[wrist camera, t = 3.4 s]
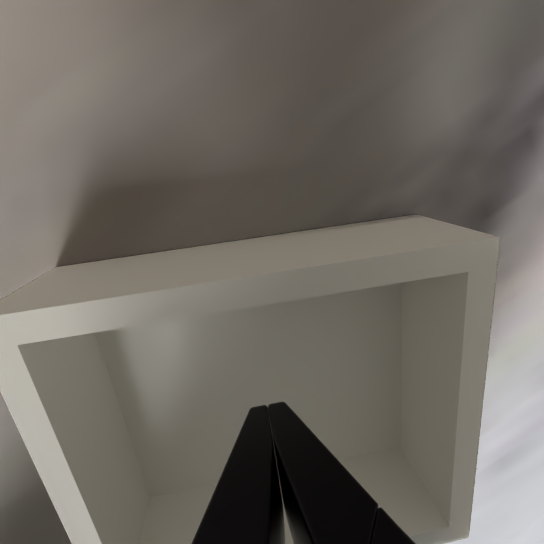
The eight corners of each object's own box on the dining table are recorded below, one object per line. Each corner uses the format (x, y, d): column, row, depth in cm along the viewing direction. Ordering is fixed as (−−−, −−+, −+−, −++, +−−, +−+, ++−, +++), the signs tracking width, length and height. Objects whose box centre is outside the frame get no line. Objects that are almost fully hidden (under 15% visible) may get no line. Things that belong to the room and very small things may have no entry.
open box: (411, 448, 20) (468, 537, 15) (138, 503, 19) (107, 620, 14) (416, 214, 15) (500, 237, 10) (55, 267, 14) (-34, 320, 9)
